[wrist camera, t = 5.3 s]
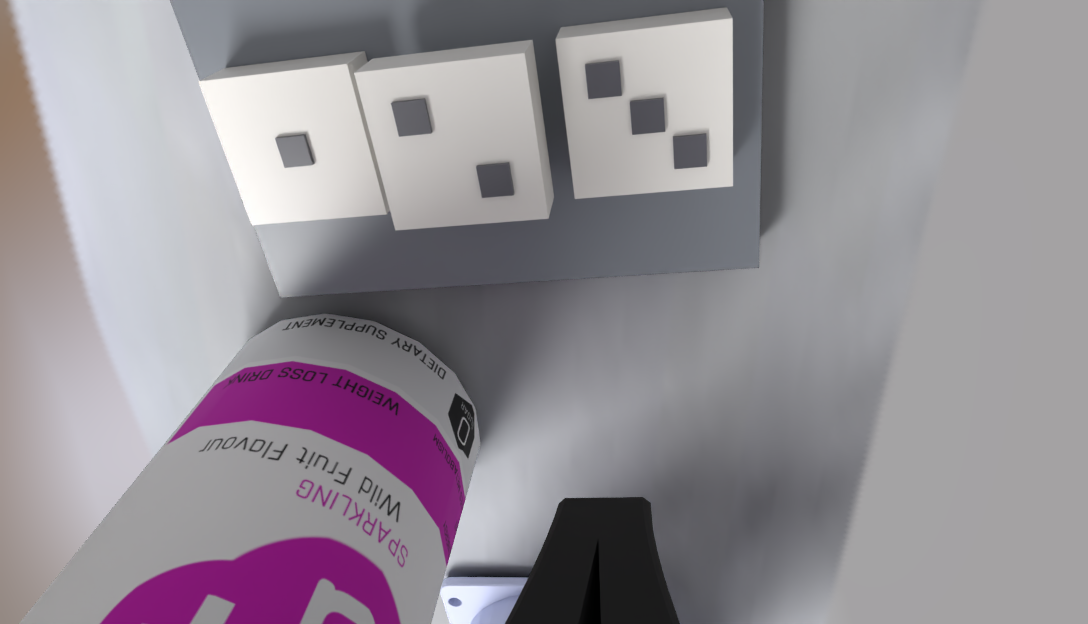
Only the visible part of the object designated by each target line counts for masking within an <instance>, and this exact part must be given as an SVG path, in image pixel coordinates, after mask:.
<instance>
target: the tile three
mask: <svg viewBox="0 0 1088 624" xmlns="http://www.w3.org/2000/svg"><path fill="white" fill-rule="evenodd" d="M555 40H556V49H557V57H558V65H559V73H560V81H561V90H562V98H563V106H564V114H565V122H566V131H567V139H568V147H569V155H570V164H571V172H572V180H573V188H574V196H575V199H582V198H594V197H607V196H619V195H631V194H644V193H656V192H668V191H681V190H693V189H706V188H718V187H730V186H733V18H732V16H731V14H730V12H729V10H728V9H727V7H725V8H716V9H708V10H700V11H692V12H683V13H675V14H667V15H658V16H650V17H642V18H634V19H625V20H617V21H609V22H601V23H592V24H584V25H576V26H567V27H561V28H560V30H559V33H558V35H557V37H556V39H555Z"/></svg>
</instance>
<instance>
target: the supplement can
mask: <svg viewBox="0 0 1088 624" xmlns="http://www.w3.org/2000/svg"><path fill="white" fill-rule="evenodd" d="M480 444H481V443H480V436H479V429H478V422H477V414H476V408H475V407H474V405H473V403H472V402H471V400H470V398H469V396H468V395H467V393H466V391H465V390H464V388H463V386H462V385H461V383H460V381H459V380H458V378H457V376H456V375H455V373H454V372H453V371H452V370H451V369H449V368H448V367H447V366H446V365H445V364H444V363H443V362H441V361H440V360H439V359H438V358H437V357H436V356H434V355H433V354H432V353H431V352H430V351H429V350H428V349H426V348H425V347H424V346H423V345H422V344H421V343H420V342H418V341H416V340H413V339H411V338H409V337H407V336H405V335H403V334H401V333H398V332H396V331H394V330H392V329H390V328H388V327H386V326H383V325H381V324H379V323H377V322H375V321H370V320H364V319H358V318H351V317H345V316H339V315H333V314H326V313H325V314H318V315H312V316H305V317H299V318H292V319H286V320H281V321H279V322H278V323H276V324H274V325H273V326H271V327H269V328H268V329H266V330H264V331H263V332H261V333H259V334H258V335H256V336H254V337H253V338H251V339H249V340H248V341H247V343H246V344H245V345H244V346H243V348H242V349H241V350H240V351H239V352H238V354H237V355H236V356H235V357H234V359H233V360H232V361H231V362H230V364H229V365H228V366H227V367H226V369H225V370H224V371H223V372H222V373H221V375H220V376H219V377H218V378H217V380H216V381H215V382H214V383H213V385H212V386H211V387H210V388H209V390H208V391H207V392H206V393H205V394H204V396H203V397H202V398H201V399H200V401H199V402H198V403H197V404H196V406H195V407H194V408H193V409H192V410H191V412H190V413H189V414H188V415H187V417H186V418H185V419H184V420H183V422H182V423H181V424H180V425H179V427H178V428H177V429H176V430H175V431H174V433H173V434H172V435H171V436H170V438H169V439H168V440H167V441H166V443H165V444H164V445H163V446H162V448H161V449H160V450H159V451H158V452H157V454H156V455H155V456H154V457H153V459H152V460H151V461H150V462H149V464H148V465H147V466H146V467H145V469H144V470H143V471H142V472H141V473H140V475H139V476H138V477H137V478H136V480H135V481H134V482H133V484H132V485H131V486H130V487H129V488H128V490H127V491H126V492H125V493H124V494H123V496H122V497H121V498H120V499H119V501H118V502H117V503H116V504H115V506H114V507H113V508H112V509H111V511H110V512H109V513H108V514H107V515H106V517H105V518H104V519H103V521H102V522H101V523H100V524H99V526H98V527H97V528H96V529H95V530H94V531H93V533H92V534H91V535H90V537H89V538H88V539H87V540H86V541H85V543H84V544H83V545H82V546H81V548H80V549H79V550H78V552H77V553H76V554H75V555H74V556H73V557H72V559H71V560H70V561H69V562H68V564H67V565H66V566H65V567H64V569H63V570H62V571H61V572H60V573H59V575H58V576H57V577H56V578H55V580H54V581H53V582H52V583H51V585H50V586H49V587H48V588H47V590H46V591H45V592H44V593H43V595H42V596H41V597H40V598H39V600H38V601H37V602H36V603H35V604H34V606H33V607H32V608H31V609H30V610H29V612H28V613H27V614H26V616H25V617H24V618H23V619H22V620H21V622H20V623H19V624H431V622H432V618H433V615H434V611H435V607H436V604H437V600H438V596H439V593H440V589H441V586H442V582H443V578H444V575H445V571H446V568H447V564H448V560H449V557H450V553H451V549H452V546H453V542H454V539H455V535H456V531H457V528H458V524H459V520H460V517H461V513H462V510H463V506H464V502H465V499H466V495H467V492H468V488H469V484H470V481H471V477H472V473H473V470H474V466H475V463H476V459H477V455H478V452H479V448H480Z"/></svg>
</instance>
